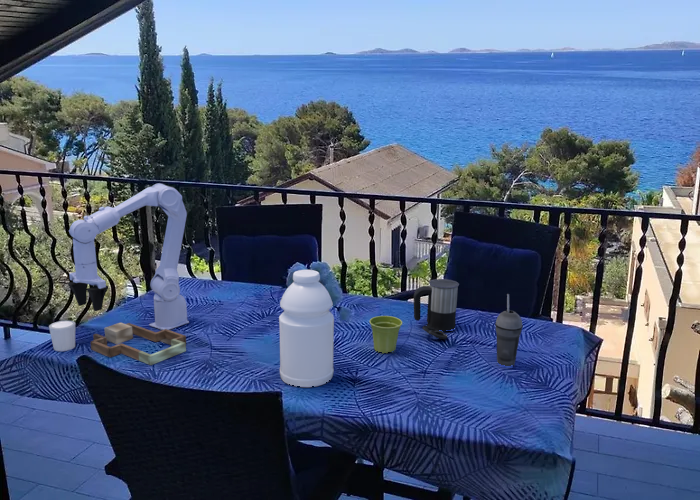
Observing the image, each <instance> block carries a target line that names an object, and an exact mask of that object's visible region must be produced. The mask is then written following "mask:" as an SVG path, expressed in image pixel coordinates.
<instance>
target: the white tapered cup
mask: <svg viewBox="0 0 700 500" xmlns="http://www.w3.org/2000/svg"><path fill="white" fill-rule="evenodd" d="M48 328H49V333H50V337H51V342H52V346H53V347H52V348H53V350H54V351H55V352H56V351H57V352H66V351H67V352H68V351H70V350H73V349H75V348H76V322H75V321H73V320H60V321H56V322H53V323H51V324H49V325H48Z"/></svg>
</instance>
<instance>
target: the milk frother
mask: <svg viewBox="0 0 700 500" xmlns="http://www.w3.org/2000/svg"><path fill="white" fill-rule="evenodd" d="M428 282H429V285H422V286H419V287H418V288H417V289H416V290H415V291H414V293H413V317H414V320H415V321H420V320H421V297H422V296H423V295H425V294H427V295H428V297H427V299H428V300H427V312H426V313H427V314H426V322H427V323H426V325H423V326H422V330H423V331H425V332H426V333H427V334H429V335H431V336H433V337H434V338H436V339H438V340H439V339H441V340H447V339H448V334H446V332H442V331H446V330H451V329H454V328H455V326H456V319H457V316H456V315H457V302H458V289H459V288H458V287H459V285H460V283H459V282H457V281H456V280H452V279H445V278H444V279H443V278H435V279H431V280H429V281H428ZM439 330H442V331H439Z"/></svg>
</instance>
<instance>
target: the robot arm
mask: <svg viewBox="0 0 700 500" xmlns="http://www.w3.org/2000/svg"><path fill="white" fill-rule="evenodd" d="M145 206H146V207H147V206H150V207H160V208H161V209H162V211H163V212H164V213H165V214H166V215H167V222H166V228H165V234H164V238H163V239H164V240H163V245H162V251H161V257H160V261H159V266H158V267H157V268H156V269H155V274H154V276H153V277H152V278H151V280H150V289H151V291H153V293H154V296H153V307H154V309H153V311H154V322H151V323H149V324H148V325H149V327H153V328H156V329H159V330H160V331H162V330H164V329H167V330H170V331H171V330H173V329H174V328H178V327H180V326H183V325H187V324H189V323H190V321H189V320H188V311H187V309H188V308H187V307H188V306H187V301H186V299H185V297H184V296H183V295H182V294H180V293H181V288H180V283H179V281H180V277H179V273H178V265H179V261H180V260H179V259H180V255H181V249H182V243H183V238H184V233H185V228H186V227H185V226H186V221H187V215H188V212H187V210H186V207H185V204H184V202H183V195H182V194H181V193H180V192H179V191H178V190H177V188H175V187H173V186H169V185H166V184H164V183H160V182H159V183H155V184H153V185H152V186H148V187H146V188H145V189H143V190H142V191H140V192H138V193H136V194H135V195H133V196H131V197H130V198H128V199H126V200H125V201H123V202H120V203H118V205H116V206H113V207H112V206H109V205H107V206H105V207H104V206H100V207H99V208H98V211H95V212H94V213H91V214H90V215H84V216H83V219H77V220H75V221H73V222H72V223H71V225H70V227H69V230H68V232H69V235H70V236H71V237H72V244H73V247H72V249H73V259H74V270H75V271H74V272H70V273H68V274H69V280H70V281H71V282H68V283H67V286H68V287H69V288H70V290H71V292H72V293H73V295H74V298H75V300H76V303H77V305H78V306H85V305H87V302H88V301H87V300H88V299H87V296H88V295H89V297H90V300H91V304H92V308H93V311H94V312H97V311H98V312H99V311H101V310H102V308H103V306H104V305H103V304H104V299H105V296H106V293H107V291H108V290H109V286H108V285H107V284H106V283H107V282H106V280H105V279H103V278H102V277H100V276H99V275H98V264H97V263H98V262H97V255H96V246H95V239H96V237H97V235H99V234H101V233H103V232H105V231H107V230H109V229H111V228H112V227H114V226H116V225H118V224H119V223H120V219H121V218H122V217H124V216H127V215H129V214H130V213H133V212H134V211H136V210H139V209H141V208H143V207H145ZM89 285H90V286H91V287H88V286H89ZM87 293H88V295H87Z"/></svg>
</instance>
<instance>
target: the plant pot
mask: <svg viewBox="0 0 700 500" xmlns="http://www.w3.org/2000/svg"><path fill="white" fill-rule="evenodd" d="M369 324H370V328H371V330H372V332H371V333H372V339H373V341H372V343H373V349H374V350H375V352H377V351H378V352H377V353H379V352H382V353H381V354H384V353H386V354H389V353H388V352H392V351H394V350H395V351H396V349H397V343H398V337H399V334H400V333H399V331H400V329H401V326H402V325H403V321H402V320H401V319H400V318H398V317H396V316H390V315H378V316H374V317H372V318H370V319H369ZM395 351H394V352H395ZM392 353H393V352H392Z"/></svg>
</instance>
